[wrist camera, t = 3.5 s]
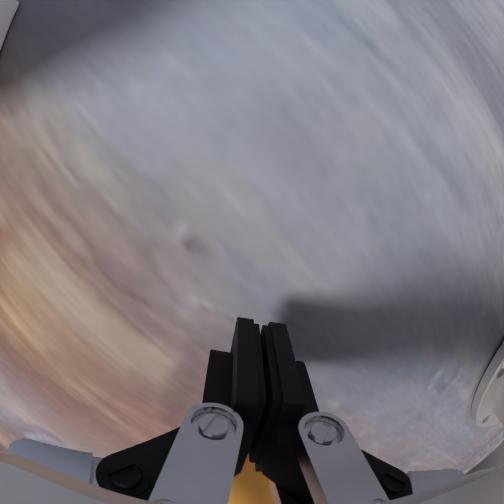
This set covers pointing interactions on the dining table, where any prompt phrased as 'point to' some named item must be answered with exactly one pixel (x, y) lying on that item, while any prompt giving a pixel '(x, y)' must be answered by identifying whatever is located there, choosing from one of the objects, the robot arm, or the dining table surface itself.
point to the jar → (6, 17)
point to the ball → (250, 487)
